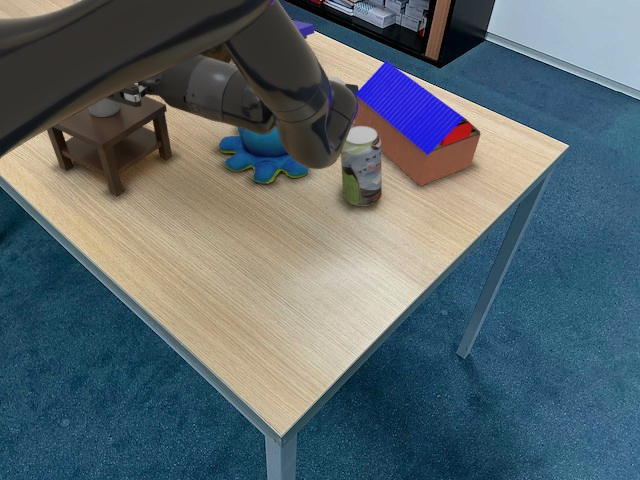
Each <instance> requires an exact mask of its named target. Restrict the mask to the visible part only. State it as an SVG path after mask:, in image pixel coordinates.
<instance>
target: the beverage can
mask: <svg viewBox="0 0 640 480" xmlns="http://www.w3.org/2000/svg"><path fill="white" fill-rule="evenodd" d="M340 163H341V164H340V165H341V180H342V193H343V194H342V195H343V198H344V200H345V201H346V202H347V203H348V204H351V205H353V206H357V207H367V206H371V205H373V204H375V203H377V202H378V201H379V200H380V199H381V197H382V194H383V193H382V192H383V191H382V187H383V185H382V183H383V182H382V181H383V180H382V151H381V139H380V137H379V136H378V135H377V132H376V130H374V129H373V128H371V127H367V126H357V127H354V126H352V127H351V129H350V132H349V134H348V136H347V139H346V141H345V144H344V146H343V149H342V151H341V154H340Z"/></svg>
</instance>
